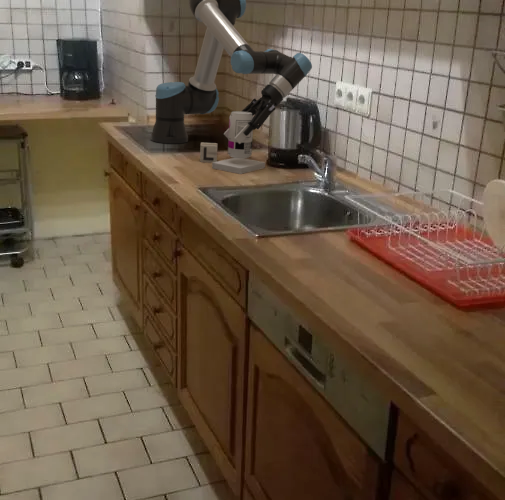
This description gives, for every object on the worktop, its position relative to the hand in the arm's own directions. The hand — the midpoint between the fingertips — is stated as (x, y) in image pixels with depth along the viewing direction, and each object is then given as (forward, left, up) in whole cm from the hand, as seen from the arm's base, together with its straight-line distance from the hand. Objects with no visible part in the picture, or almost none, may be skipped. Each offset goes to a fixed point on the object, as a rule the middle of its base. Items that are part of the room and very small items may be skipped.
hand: (231, 138), depth 232 cm
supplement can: (-3, +2, -6) cm, 7 cm away
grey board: (-3, +2, -10) cm, 11 cm away
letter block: (-5, -13, -10) cm, 17 cm away
